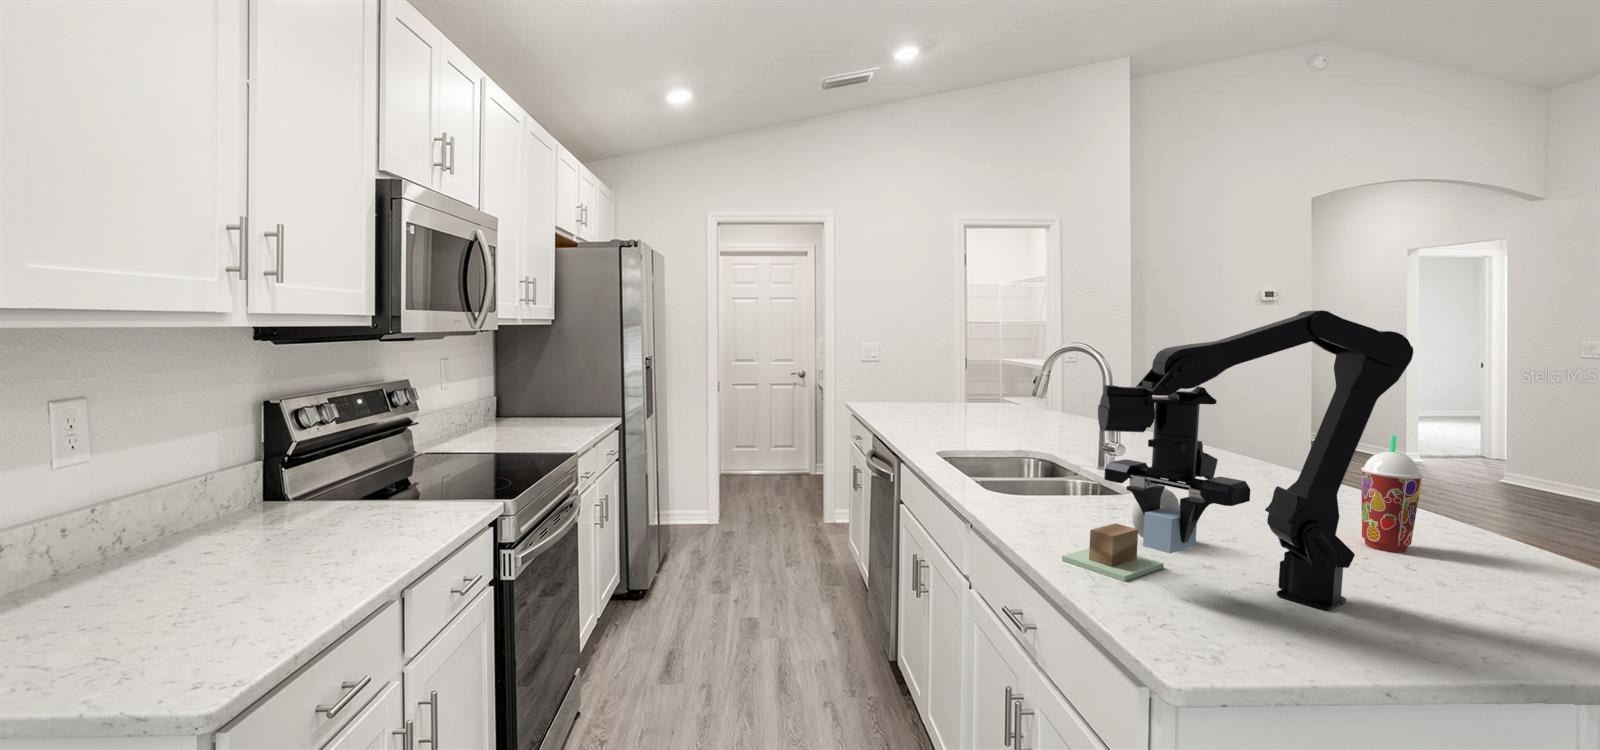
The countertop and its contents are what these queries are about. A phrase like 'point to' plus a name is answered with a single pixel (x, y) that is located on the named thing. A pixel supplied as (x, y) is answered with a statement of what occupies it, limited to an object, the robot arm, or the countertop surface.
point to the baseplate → (1119, 571)
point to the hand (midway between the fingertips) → (1169, 538)
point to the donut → (1165, 501)
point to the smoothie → (1389, 500)
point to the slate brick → (1165, 530)
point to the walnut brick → (1113, 544)
